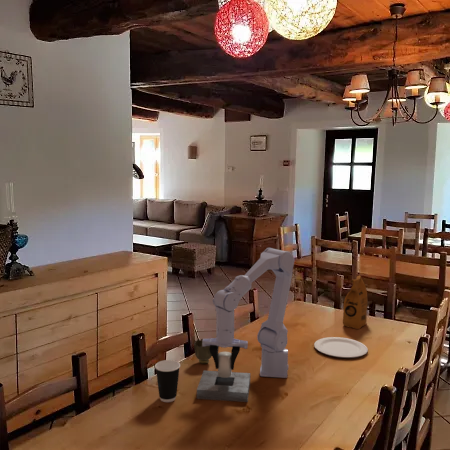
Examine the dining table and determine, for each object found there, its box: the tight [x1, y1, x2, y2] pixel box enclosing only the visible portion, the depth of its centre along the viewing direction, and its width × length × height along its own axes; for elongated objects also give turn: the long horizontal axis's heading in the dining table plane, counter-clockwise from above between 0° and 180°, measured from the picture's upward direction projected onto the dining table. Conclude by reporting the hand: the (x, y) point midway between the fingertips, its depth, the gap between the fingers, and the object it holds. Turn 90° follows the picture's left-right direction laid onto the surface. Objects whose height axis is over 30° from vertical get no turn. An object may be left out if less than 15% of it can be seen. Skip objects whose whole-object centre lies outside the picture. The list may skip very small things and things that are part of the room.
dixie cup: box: [154, 359, 181, 403], centre depth 150 cm, size 8×8×11 cm
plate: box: [313, 336, 369, 359], centre depth 191 cm, size 21×21×2 cm
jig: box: [196, 369, 251, 403], centre depth 157 cm, size 16×14×3 cm
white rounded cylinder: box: [217, 351, 233, 378], centre depth 156 cm, size 4×4×7 cm
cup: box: [193, 338, 213, 365], centre depth 177 cm, size 8×7×8 cm
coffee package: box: [342, 275, 368, 330], centre depth 219 cm, size 10×12×22 cm
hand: (224, 368), depth 156 cm, fingers closed on white rounded cylinder, 4 cm apart
